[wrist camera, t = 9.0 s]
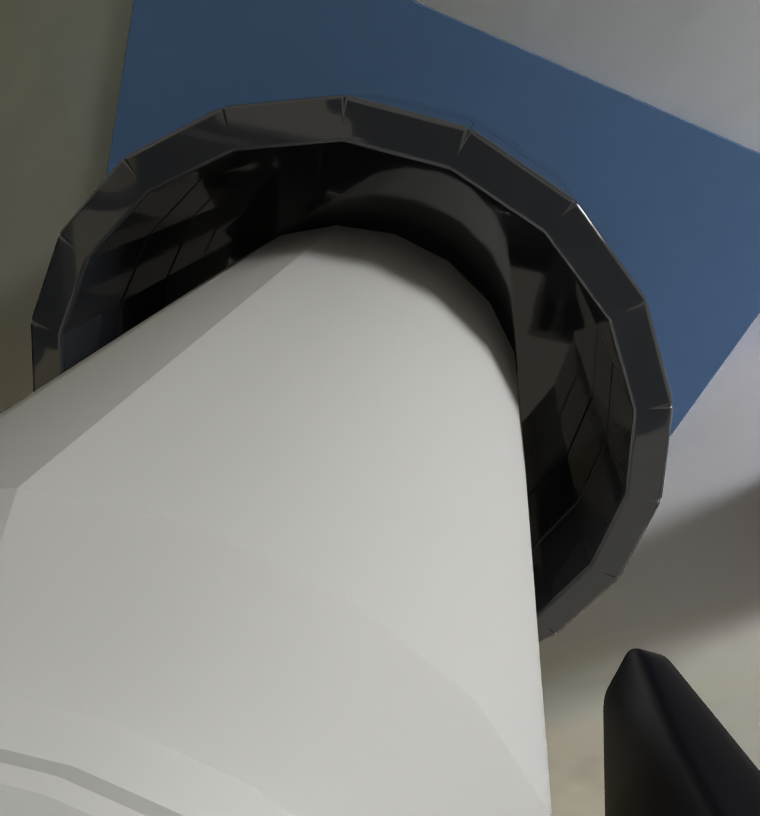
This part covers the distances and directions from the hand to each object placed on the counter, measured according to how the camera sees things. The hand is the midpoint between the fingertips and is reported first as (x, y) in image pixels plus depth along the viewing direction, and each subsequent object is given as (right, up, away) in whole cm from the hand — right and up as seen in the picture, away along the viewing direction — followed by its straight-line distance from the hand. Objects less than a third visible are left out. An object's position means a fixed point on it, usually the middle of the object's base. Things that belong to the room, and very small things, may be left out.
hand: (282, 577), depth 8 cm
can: (+1, +3, +7) cm, 7 cm away
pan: (+1, +3, +7) cm, 8 cm away
